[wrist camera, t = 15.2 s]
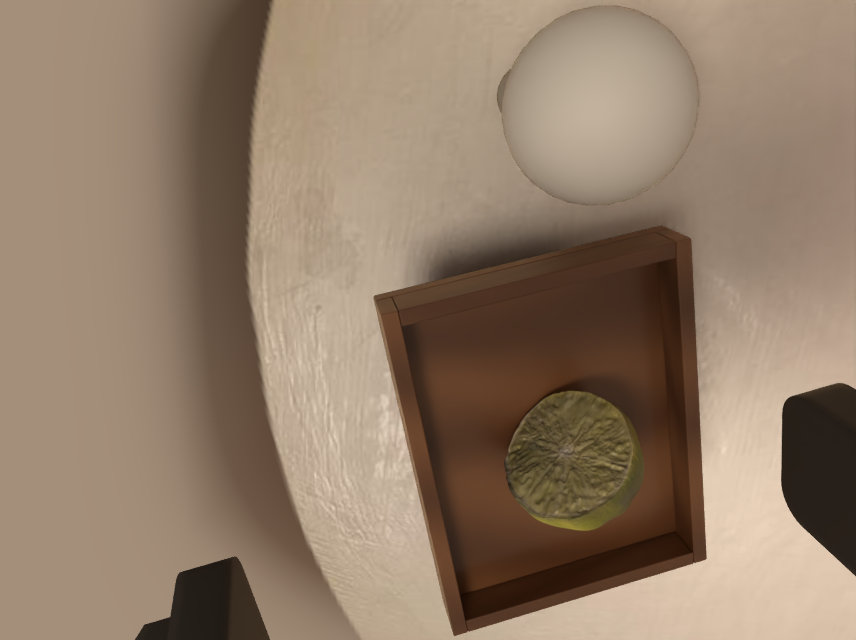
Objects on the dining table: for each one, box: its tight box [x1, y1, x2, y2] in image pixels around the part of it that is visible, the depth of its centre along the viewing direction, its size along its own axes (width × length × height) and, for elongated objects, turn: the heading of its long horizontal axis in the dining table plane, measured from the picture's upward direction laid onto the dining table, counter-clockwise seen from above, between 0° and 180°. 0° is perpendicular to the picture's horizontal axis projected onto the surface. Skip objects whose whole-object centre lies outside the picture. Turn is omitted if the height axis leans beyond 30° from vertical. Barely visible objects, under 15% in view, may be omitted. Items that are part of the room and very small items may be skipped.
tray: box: [374, 225, 706, 636], centre depth 31 cm, size 14×11×8 cm
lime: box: [504, 391, 645, 531], centre depth 27 cm, size 4×5×5 cm
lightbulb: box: [497, 6, 699, 205], centre depth 26 cm, size 6×6×11 cm
